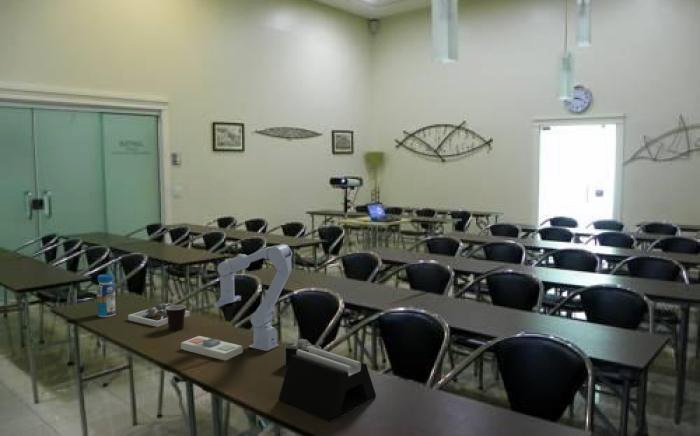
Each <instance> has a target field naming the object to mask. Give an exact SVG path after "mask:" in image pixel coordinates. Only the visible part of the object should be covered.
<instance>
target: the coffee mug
mask: <svg viewBox="0 0 700 436" xmlns="http://www.w3.org/2000/svg"><path fill="white" fill-rule="evenodd" d="M186 308H187V307H186V305H184V304H174V305H167V306H166V313H167V317H166V318H167V319H168V323H167V324H168V330H169V331H170V332H178V331H182V330H184V329H185V328H184V327H185V310H186ZM183 328H184V329H183Z"/></svg>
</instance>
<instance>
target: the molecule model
mask: <svg viewBox="0 0 700 436" xmlns="http://www.w3.org/2000/svg"><path fill="white" fill-rule="evenodd" d="M167 306H171V303H170V302H168V303H165V302H161V303H157V304H156V305H155V307H156V308H154V307H149V308H148V309H147V310H148V311H146V313H145V314H144V316H143V318H151V317H152V316H153V315H154V314H155V313H154V312H155V309H157V310H161V311H160V312H161V313H160V314H161V315H160V316H161V317H160V319H159V320H161V319H164V318H167V313H166V310H164V309H165V308H166V307H167ZM153 308H154V309H153ZM163 310H164V311H163Z"/></svg>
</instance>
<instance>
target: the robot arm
mask: <svg viewBox="0 0 700 436" xmlns="http://www.w3.org/2000/svg"><path fill="white" fill-rule="evenodd" d="M292 257H293V251H292V249H291V248H290V246H289V245H288V244H286V243H281V244H278V245H272V246H269V247H265V248H263V249H260V250H258V251H256V252H253V253H251V254H248V255H247V254H245V253H243V254H242V253H238V254H237V255H236V256H235V257H232V258H231V257H229V258H228V259H227V260H225V261H222V262H220V263H218V265H217V272H218V274H219V279H220V281H219V283H220V298H219V299H218V300H217V301H216V302H214V303H213V308H215V309H220V310H221V312H222V315H223V318H224V321H225V322H231V321H232V317H233V313H234V311H235V308H236V307H237V303H236V302H238V301H239V302H240V301H241V300H242V296H241V295H235V293H236V292H235V274H236V272H238V271H241V270H244V269H248V267H250V264H251V263H253V262H256V261H258V260H261V259H265V260H269V261H270V262H271V264H272V265H273V266H274V267H275V269H276V272H275V275H274V278H273V279H272V281H271V283H270V285H269V287H268V289H267V290H266V291H267V292H266V294H265V296H264V297H263V299H262V302H261V303H260V304H259V306H258V307H257V308H256V310H255V311H254V312H253V313H252V314H251V315H250V323H251V325H252V327H253V344H250V345H248V347H249V348H251V349H257V350H259V351H260V350H261V351H266V352H268V351H270V350H273V349H275V348H277V347H279V344H278V329H276V327H273V326H272V320H273V318H274V316H275V315H274V314H275V310H276V308H275V305H276V303H277V301H278V299H279V297H280V295H281V293H282V290H283V289H284V286H285V285H286V283H287V281H288V279H289V276H290V275H291V273H292V269H293V268H292Z"/></svg>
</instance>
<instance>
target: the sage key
mask: <svg viewBox="0 0 700 436" xmlns="http://www.w3.org/2000/svg"><path fill="white" fill-rule="evenodd" d="M233 348H235V347H234V346H230V345H224V346H221V347H219V348H218V349H220V350H224V351H228V350H231V349H233Z"/></svg>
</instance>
